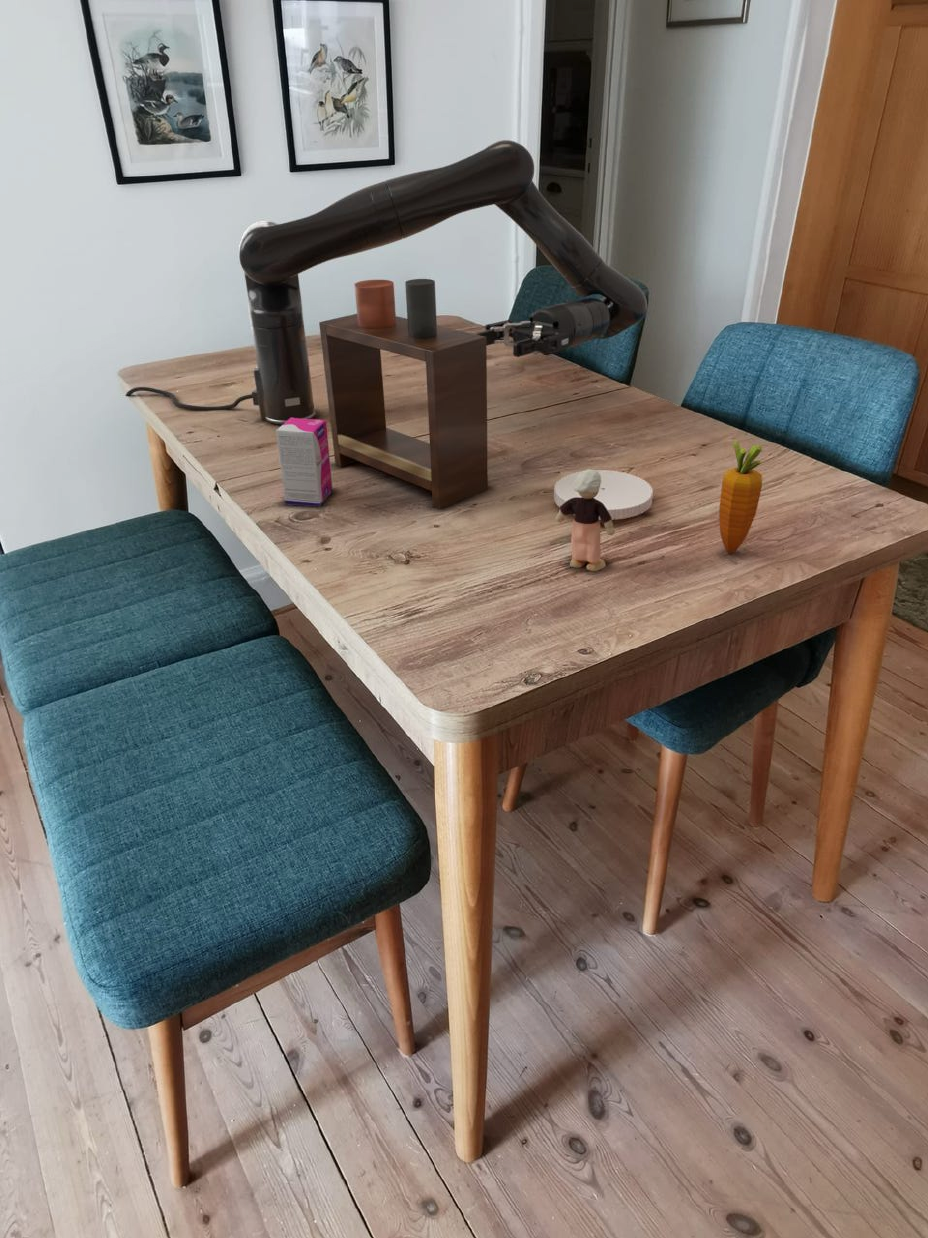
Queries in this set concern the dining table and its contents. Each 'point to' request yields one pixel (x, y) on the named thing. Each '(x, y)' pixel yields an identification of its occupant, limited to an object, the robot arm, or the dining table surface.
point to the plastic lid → (611, 493)
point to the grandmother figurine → (587, 521)
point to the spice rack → (452, 391)
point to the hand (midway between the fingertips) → (495, 345)
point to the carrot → (739, 498)
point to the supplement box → (304, 461)
